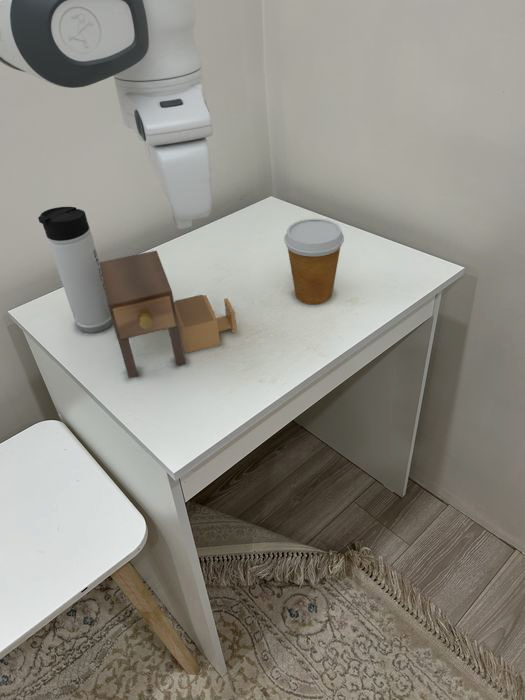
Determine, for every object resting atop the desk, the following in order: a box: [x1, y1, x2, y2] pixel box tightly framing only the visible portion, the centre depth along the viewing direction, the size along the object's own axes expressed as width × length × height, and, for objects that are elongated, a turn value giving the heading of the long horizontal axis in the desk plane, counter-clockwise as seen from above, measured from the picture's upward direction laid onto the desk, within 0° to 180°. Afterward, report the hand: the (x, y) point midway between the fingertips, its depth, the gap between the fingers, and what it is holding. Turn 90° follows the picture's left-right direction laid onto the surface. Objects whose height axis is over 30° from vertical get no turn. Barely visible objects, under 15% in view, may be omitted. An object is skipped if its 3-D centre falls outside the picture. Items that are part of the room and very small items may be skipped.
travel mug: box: [37, 206, 113, 334], centre depth 84 cm, size 6×7×20 cm
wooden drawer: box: [174, 294, 237, 354], centre depth 85 cm, size 9×7×5 cm
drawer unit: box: [99, 250, 187, 379], centre depth 80 cm, size 8×14×13 cm, turn 18°
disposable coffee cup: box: [283, 218, 345, 305], centre depth 90 cm, size 10×10×12 cm
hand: (182, 223), depth 65 cm, fingers closed
